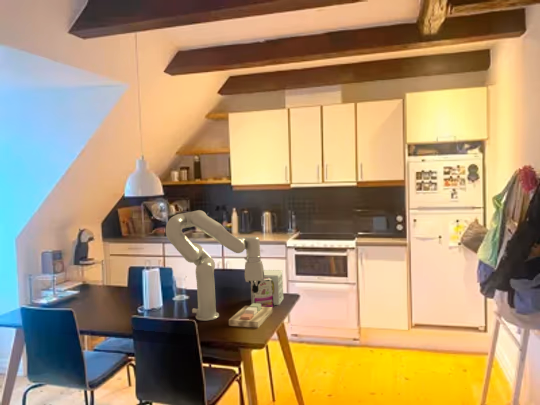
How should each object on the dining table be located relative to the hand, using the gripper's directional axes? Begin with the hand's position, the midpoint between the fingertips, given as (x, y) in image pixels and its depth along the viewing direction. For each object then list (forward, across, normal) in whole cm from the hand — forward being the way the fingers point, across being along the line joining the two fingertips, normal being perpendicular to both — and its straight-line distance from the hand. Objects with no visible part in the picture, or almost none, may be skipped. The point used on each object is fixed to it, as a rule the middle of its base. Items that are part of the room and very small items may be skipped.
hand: (255, 292), depth 243 cm
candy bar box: (+13, -1, +13) cm, 18 cm away
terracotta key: (+11, -1, -14) cm, 18 cm away
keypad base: (+12, -1, -7) cm, 14 cm away
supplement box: (+13, -2, +24) cm, 27 cm away
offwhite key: (+10, -1, -7) cm, 12 cm away
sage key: (+10, -1, 0) cm, 10 cm away
